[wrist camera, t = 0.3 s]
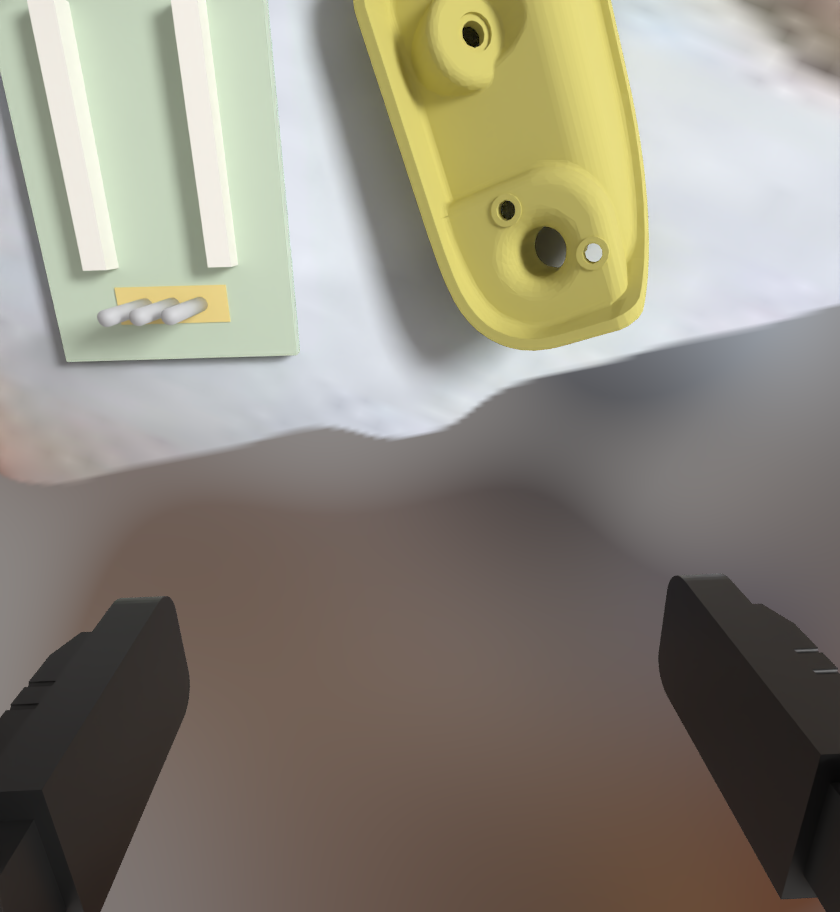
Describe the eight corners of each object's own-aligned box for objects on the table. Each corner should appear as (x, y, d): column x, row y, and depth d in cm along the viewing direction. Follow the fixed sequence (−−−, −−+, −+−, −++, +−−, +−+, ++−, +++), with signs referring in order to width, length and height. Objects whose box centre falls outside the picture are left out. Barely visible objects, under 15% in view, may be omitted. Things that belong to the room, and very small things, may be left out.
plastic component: (336, -43, 28) (547, -195, 23) (405, -7, 34) (584, -120, 29) (471, 369, 33) (665, 319, 28) (510, 337, 39) (675, 290, 34)
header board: (-6, -13, 30) (-104, -71, 24) (265, -18, 30) (234, -76, 24) (77, 357, 36) (15, 383, 30) (299, 351, 36) (281, 375, 30)
